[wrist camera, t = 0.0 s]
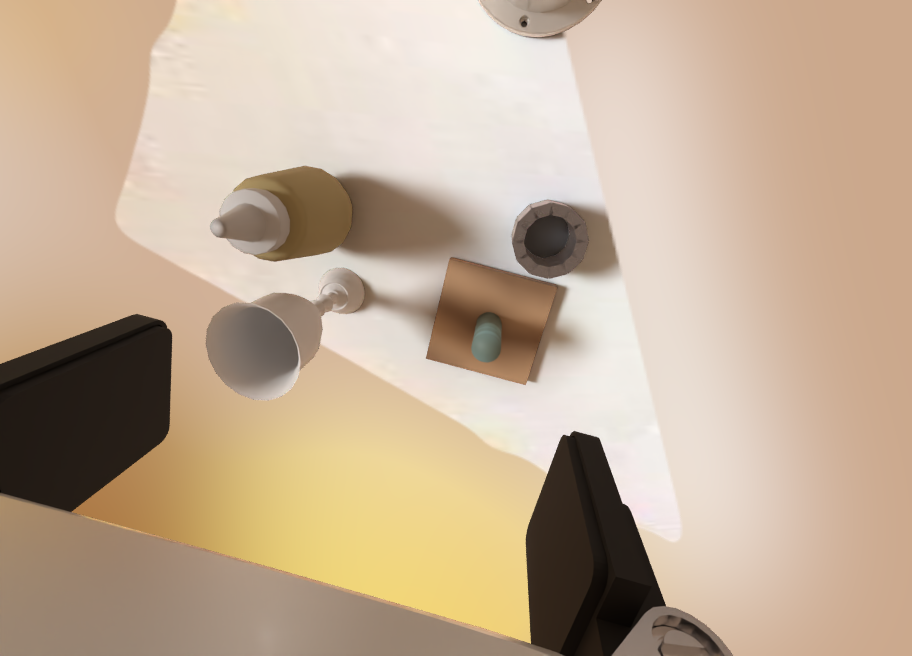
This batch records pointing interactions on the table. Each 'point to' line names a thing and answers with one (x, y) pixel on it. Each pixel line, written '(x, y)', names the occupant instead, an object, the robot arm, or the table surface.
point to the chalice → (276, 335)
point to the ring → (567, 256)
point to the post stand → (490, 320)
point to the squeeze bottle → (286, 214)
